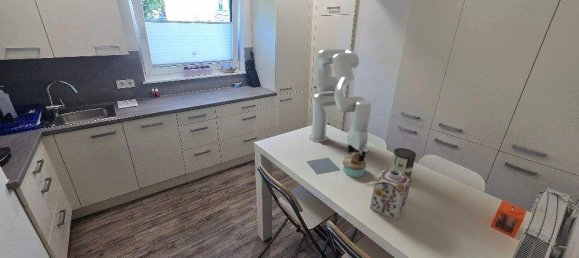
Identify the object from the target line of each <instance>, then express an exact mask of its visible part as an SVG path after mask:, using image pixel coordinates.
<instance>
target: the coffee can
mask: <svg viewBox="0 0 579 258" xmlns="http://www.w3.org/2000/svg"><path fill="white" fill-rule="evenodd" d="M416 157H417V153H416V152H415V151H413V150H412V149H409V148H404V147H398V148H395V149H394V150H393V156H392V162H391V166H390V170H398V171H399V172H401V173H404V174H405V175H406V176H407V177H408V178H409V179H410V180H411V177H412V173H413V169H414V165H415V162H416V161H415V160H416Z"/></svg>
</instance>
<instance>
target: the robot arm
mask: <svg viewBox="0 0 579 258" xmlns="http://www.w3.org/2000/svg"><path fill="white" fill-rule="evenodd" d="M359 64H360V57H359V55H358V54H357V53H356V52H354V51H351V50H348V49H345V48H324V49H321V50H319V51H318V53H317V55H316V65H317V75H316V83H315V84H316V90H318V93H315V94H313V96H312V99H311V100H312V125H311V129H310V130H311V133H310V134H309V136H308V137H309V139H310V140H311V141H313V142H317V143H321V142H322V143H323V142H327V140H328V139H329V137H328V135H327V125H328V112H327V111H326V109H325V108H333V107H336V108H337V109H338V110H339V111H338V112H340V113H353V116H352V125H351V126H350V129H349V133H348V135H347V153H353V152H354V151H353V150H354V148H355V149H356V150H359V151H358V152H359V159H358V161H359V162H361V161H365V159H366V155H367V154H368V153H369V151H370V148H369V147H368V136H369V135H368V133H369V131H368V130H369V122H370V116H371V112H372V111H371V110H372V102H370V101H367V100H365V99H364V97H362V96H346V97H344V94H343V93H344V92H343V88H344V87H345V86H347V85H349V84H351V83H352V82H353V81H354V79H355V75H354V72H353V70H352V69H356V68H357V67H358V66H359ZM331 65H332V66H333V69H332V66H331ZM333 70H334V72H335V75H332V73H333V72H332V71H333ZM348 145H349V146H348Z"/></svg>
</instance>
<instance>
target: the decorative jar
mask: <svg viewBox="0 0 579 258" xmlns="http://www.w3.org/2000/svg"><path fill="white" fill-rule="evenodd" d="M411 184H412V181H411V178H410V179H409V178H408V177H407V176H406V175H405V174H404V173H401V172H399V171H398V170H391V169H383V170H381V171H380V172H379V174H378V176H377V177H376V179H375V181H374V184H373V190H372V195H371V199H370V205H369V209H370V210H371V211H374V212H376V213H379V214H381V215H383V216H385V217H387V218H390V219H391V220H393V221H395V222H397V221H398V219H399V218H400V216H401V215H402V213H403V212H404V210H405V207H406V205H407V200H408V198H409V194H410V188H411Z"/></svg>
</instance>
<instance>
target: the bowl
mask: <svg viewBox="0 0 579 258" xmlns="http://www.w3.org/2000/svg"><path fill="white" fill-rule="evenodd" d="M342 172H343V173H344V174H345V175H348V176H349V177H353V178H359V177H360V178H361V177H362V176H364V174H365V172H366V167H365V168H364V169H362V170H353V169H349V168H347V167H346V166H344V165H342Z"/></svg>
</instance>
